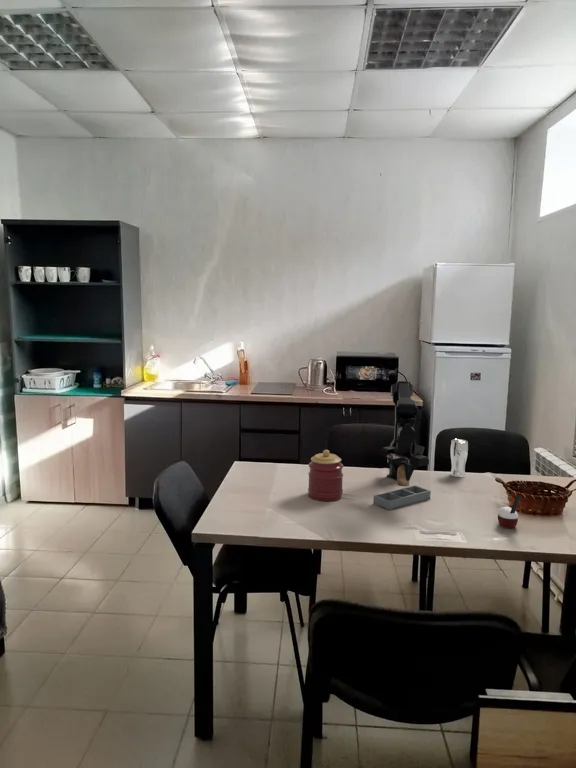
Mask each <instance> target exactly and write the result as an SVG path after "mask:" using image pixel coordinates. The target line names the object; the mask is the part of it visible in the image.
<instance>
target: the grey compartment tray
mask: <svg viewBox="0 0 576 768" xmlns="http://www.w3.org/2000/svg"><path fill="white" fill-rule="evenodd" d="M431 491H432V490H430V489H427V488H424V487H422V486H418V485H415V484H413V485H409V486H405V487H402V488H399V489H398V488H397V489H394V490H389V491H385V492H382V493H378V494H374V495H373V501H372V503H373V505H375V506H377V507H379V508H382V509H384V510H386V511H391V510H395V509H398V508H402V507H405V506H406V507H407V506H409V505H413V504H417V503H420V502H424V501H428V500H431V493H432V492H431Z"/></svg>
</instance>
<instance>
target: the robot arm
mask: <svg viewBox="0 0 576 768" xmlns="http://www.w3.org/2000/svg"><path fill="white" fill-rule="evenodd" d="M413 395H414V385H413V384H412V383H411V381H409V380H398V381H396V383H393V384H391V387H390V396H391V397H392V402H393V403H394V406H395V407H394V417H395V418H394V433H393V434H394V435H393V440H392V441H391V443H389V444H390V445H389V446H383V447H382V448H381V450H380V456H382V457H385V458H386V457H387V459H386V460H387V464H389V473H388V474H386V477H387V478H388V477H389V478H390V479H394V480H396V481H397V470H398V467H399V466H401V465H404V467H405V475H406V480H407V481H409V482H410V480H411V478H412V475H413V474H414V471H415V469H416V467H417V468H418V467H419V468H420V467H425V466H428V465H429V463H430V458H429V457H428V456H425V455H423V454H424V451H425V446H422V445H419V444H417V443H416V442H417V441H416V438H417V433H416V431H415V428H414V426H415V425H418V424H419V422H420V409H419V407H418V406H417V405H416V401H415V400H413V399H412V397H413Z"/></svg>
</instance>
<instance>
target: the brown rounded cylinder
mask: <svg viewBox="0 0 576 768" xmlns="http://www.w3.org/2000/svg"><path fill="white" fill-rule="evenodd" d="M396 485H397V486H399V487H410V480H409V481H407V480H406V475H405V467H404V465H401V466H399V467H398V470H397V480H396Z"/></svg>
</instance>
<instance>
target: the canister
mask: <svg viewBox="0 0 576 768" xmlns="http://www.w3.org/2000/svg"><path fill="white" fill-rule="evenodd" d="M341 462H342V458H341V457H339V456H338V455H337V454H334V453H330V450H328V449H324V450H323V451H322V453H321V452H320V453H317V454H314V456H312V457H311V458H310V462H309V463H308V468H309V472H308V473H307V474H308V488H307V491H308V492H307V493H308V496H309V498H311V499H313V500H315V499H316V501H321V502H332V501H337V500H340V499H341V498H342V496H343V495H344V494H343V491H344V490H343V482H344V481H343V480H344V479H343V477H344V473H343V468H344V464H343V463H341Z"/></svg>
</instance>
